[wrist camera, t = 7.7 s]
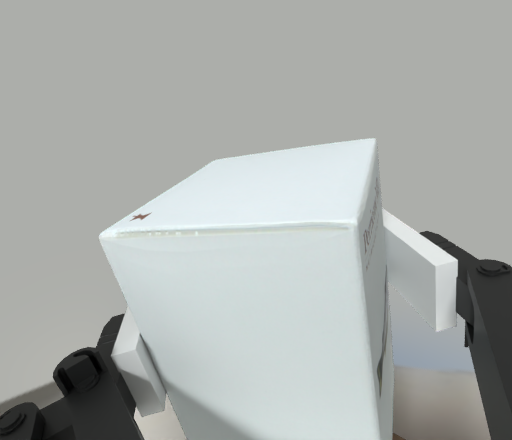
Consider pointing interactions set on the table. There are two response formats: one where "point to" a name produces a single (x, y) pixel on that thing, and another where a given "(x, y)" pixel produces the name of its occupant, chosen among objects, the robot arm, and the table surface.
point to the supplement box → (266, 295)
